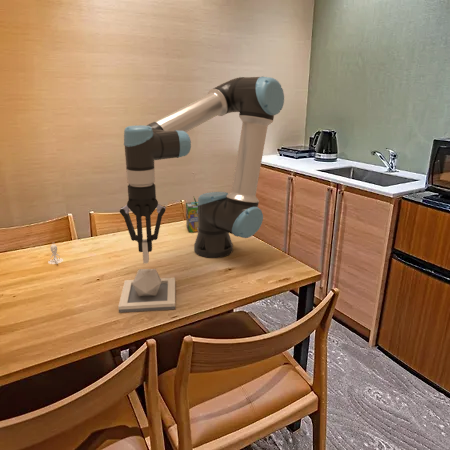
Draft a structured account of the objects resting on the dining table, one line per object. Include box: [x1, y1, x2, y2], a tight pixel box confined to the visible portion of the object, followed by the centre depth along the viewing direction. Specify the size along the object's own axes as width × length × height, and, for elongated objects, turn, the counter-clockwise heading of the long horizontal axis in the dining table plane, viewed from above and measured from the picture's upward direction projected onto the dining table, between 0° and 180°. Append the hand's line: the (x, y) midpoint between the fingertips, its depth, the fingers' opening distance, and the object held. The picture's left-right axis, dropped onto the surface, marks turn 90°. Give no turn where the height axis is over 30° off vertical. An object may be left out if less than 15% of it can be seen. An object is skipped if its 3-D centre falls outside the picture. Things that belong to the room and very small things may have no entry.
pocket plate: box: [117, 277, 176, 313], centre depth 119 cm, size 16×16×2 cm
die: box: [132, 268, 162, 296], centre depth 118 cm, size 8×9×10 cm
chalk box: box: [185, 196, 198, 233], centre depth 174 cm, size 9×9×15 cm
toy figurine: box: [47, 243, 64, 265], centre depth 141 cm, size 5×8×7 cm, turn 31°
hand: (146, 261), depth 115 cm, fingers closed
